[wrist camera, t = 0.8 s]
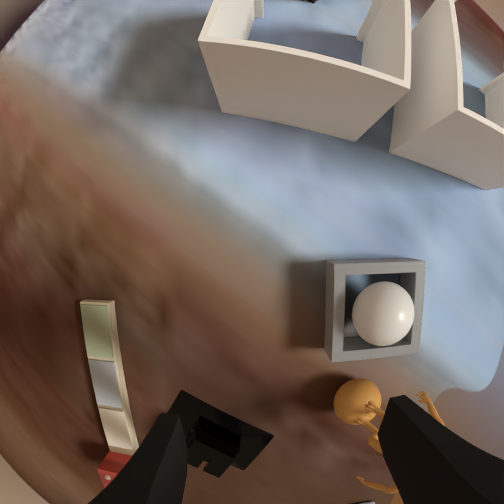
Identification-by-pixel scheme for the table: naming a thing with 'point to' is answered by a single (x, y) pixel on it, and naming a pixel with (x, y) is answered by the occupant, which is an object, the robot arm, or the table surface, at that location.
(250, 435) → the black piece
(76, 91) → the table surface
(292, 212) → the table surface
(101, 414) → the space track
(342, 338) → the housing
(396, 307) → the white glossy sphere
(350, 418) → the figurine
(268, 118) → the white brackets
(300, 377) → the table surface
